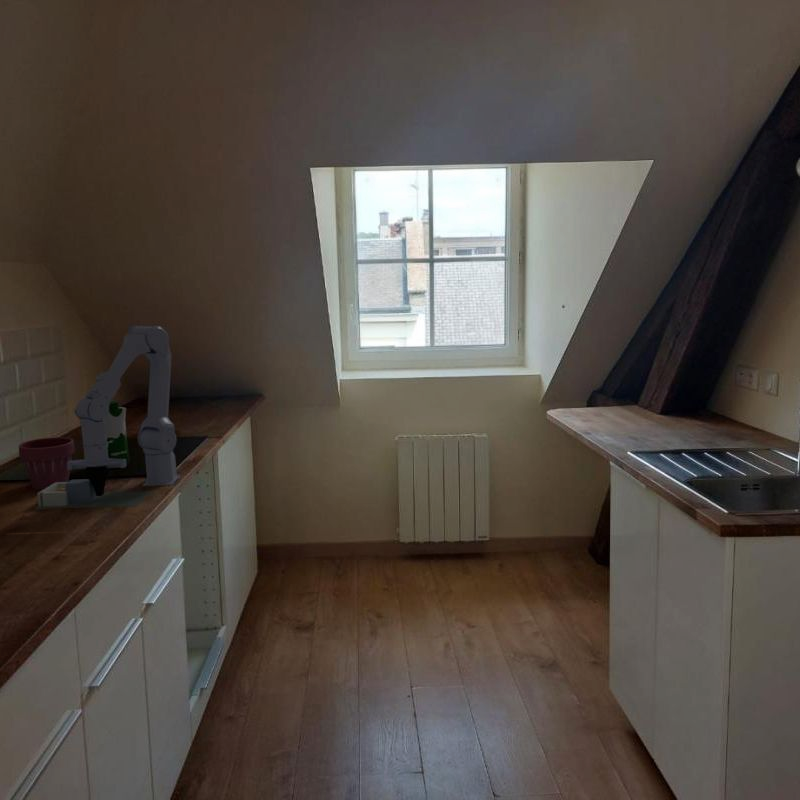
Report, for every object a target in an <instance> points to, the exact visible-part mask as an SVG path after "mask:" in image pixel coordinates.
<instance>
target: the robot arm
mask: <svg viewBox="0 0 800 800" xmlns="http://www.w3.org/2000/svg"><path fill="white" fill-rule="evenodd" d="M169 340H170V335H169V334H168V332H167V331H165V329H164V328H163V327H161V326H160V325H159V326H158V325H153V326H144V325H143V326H140V325H134V326H132V327H130V328H129V329H128V331H127V333H126V334H125V335H124V336H123V344H122V346H121V347H120V349H119V350H118V352H117V354H116V355H115V358H114V360H113V361H112V364H111V365H110V367H109V369H108V370H107V372H102V373H100V374H99V375H97V376H96V377H95V379H94V381H95V382H94V383H93V385H92V387H91V388H90V390H89V391H87V392H86V394H85V397H83V398H80V400H79V401H78V402H77V403H76V407H75V409H73V410H74V414H75V416H76V417H77V418H78V419H79V424H80V426H81V427H80V428H81V437H82V447H83V455H84V456H83V457H84V459H76V460H71V461H69V462H67V465H68V470H70V471H71V470H77V469H85V471H84V475H85V476H86V479H89V480H90V482H91V484H92V486H93V488H94V490H95V493H96V496H102V495H103V494H104V493H105V485H106V481H107V478H108V476H109V474H110V471H111V469H110V468H113V467H117V468H120V469H124V468H126V467H127V466H128V465H126V459H114V458H108V449H107V439H106V428H105V417H106V416H107V415H108V413H109V405H110V402H112V400H113V398H114V397H115V395H116V394H117V392H118V391H119V389H120V387H121V386H122V384H121V378H122V376H123V375H124V374H125V372H126V371H127V369H128V368H129V367H130V365H131V364H132V363H133V362H134V360H135V358H136V357H138V356H140V355H144V356H145V357H146V358H147V359H148V360H149V362H150V365H149V366H150V367H149V384H148V385H149V386H148V400H147V417H146V418H145V419H144V420H143V421H142V422H141V425H140V430H139V432H138V434H137V442H138V445H139V446H140V448H142V452H143V453H144V459H145V469H146V470H145V472H146V481H145V482H144V483H143V484H142V487H149V486H150V487H153V486H155V487H156V486H172V485H173V484H174V483H175V482H177V481H178V480H179V479H180V478H181V475H179V474H178V475H177V463H176V455H175V453H174V449H175V447H176V445H177V439H178V438H177V435H176V432H175V424H174V423H173V422H172V420H170V418H169V406H170V387H171V373H172V372H171V371H172V352H171V349H170V348H171V347H170V345H169V343H170V341H169ZM113 469H114V468H113Z"/></svg>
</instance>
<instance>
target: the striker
mask: <svg viewBox="0 0 800 800" xmlns="http://www.w3.org/2000/svg"><path fill="white" fill-rule="evenodd" d="M65 485H66V491H67V497H68V503H69V502H91V501H92V500H94V499H95V498H96V497H97V496H96V493H95V490H94V488H93V486H92V484H91V482H90V480H89V479H88V478H83V479H71V480H69V481H68V482H67V483H66V484H65Z"/></svg>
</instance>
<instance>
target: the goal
mask: <svg viewBox="0 0 800 800" xmlns="http://www.w3.org/2000/svg"><path fill="white" fill-rule="evenodd" d="M66 483H67V482H55V483H54V484H52V485H50V486H49V487H47V488H45V489H44V490H40V491H38V492H37V503H38V506H39V507H45V506H67V505H68V497H67V491H57V492H55V491H56V490H57V489H59V488H66V485H65V484H66Z"/></svg>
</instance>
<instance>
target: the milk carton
mask: <svg viewBox="0 0 800 800" xmlns="http://www.w3.org/2000/svg"><path fill="white" fill-rule="evenodd" d="M126 413H127V408H126V407H123V406H119V401H110V405H109V413H108V415H107V416H106V417H105V428H106V439H107V449H108V458H114V459H126V465H127V466H129V465H131V464H130V456H129V447H128V437H127V436H128V435H127V428H126V427H127V425H126V417H127V415H126ZM115 468H118V467H113V468H110V470H112V469H115Z"/></svg>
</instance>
